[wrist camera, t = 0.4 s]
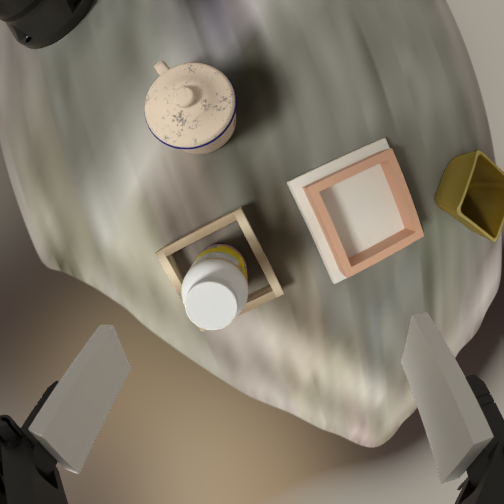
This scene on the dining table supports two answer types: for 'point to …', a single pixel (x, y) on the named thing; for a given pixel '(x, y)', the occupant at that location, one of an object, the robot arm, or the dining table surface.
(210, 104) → the teacup with lid
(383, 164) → the plate
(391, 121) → the dining table surface
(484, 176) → the flower pot
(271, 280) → the holder ring
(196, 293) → the supplement bottle
